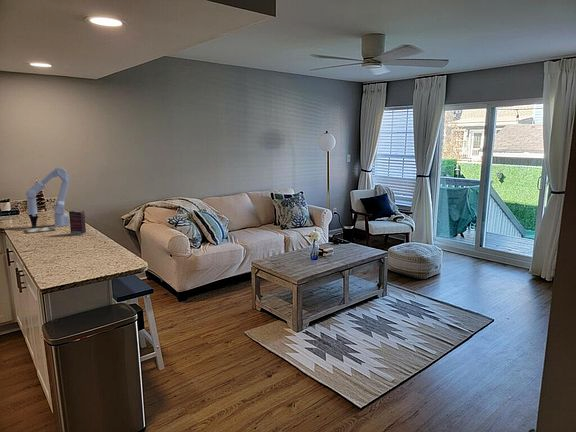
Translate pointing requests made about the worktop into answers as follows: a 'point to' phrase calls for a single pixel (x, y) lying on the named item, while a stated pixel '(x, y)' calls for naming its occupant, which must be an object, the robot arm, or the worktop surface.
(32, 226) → the marker
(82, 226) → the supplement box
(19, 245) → the worktop surface
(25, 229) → the clipboard
